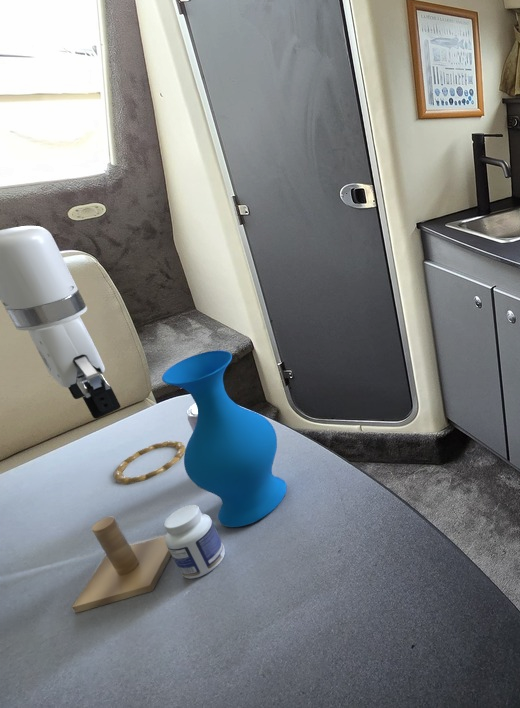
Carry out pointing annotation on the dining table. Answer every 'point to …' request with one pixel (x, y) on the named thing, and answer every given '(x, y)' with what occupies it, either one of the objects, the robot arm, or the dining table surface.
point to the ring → (126, 480)
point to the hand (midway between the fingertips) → (97, 403)
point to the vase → (227, 443)
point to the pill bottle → (193, 541)
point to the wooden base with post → (122, 567)
